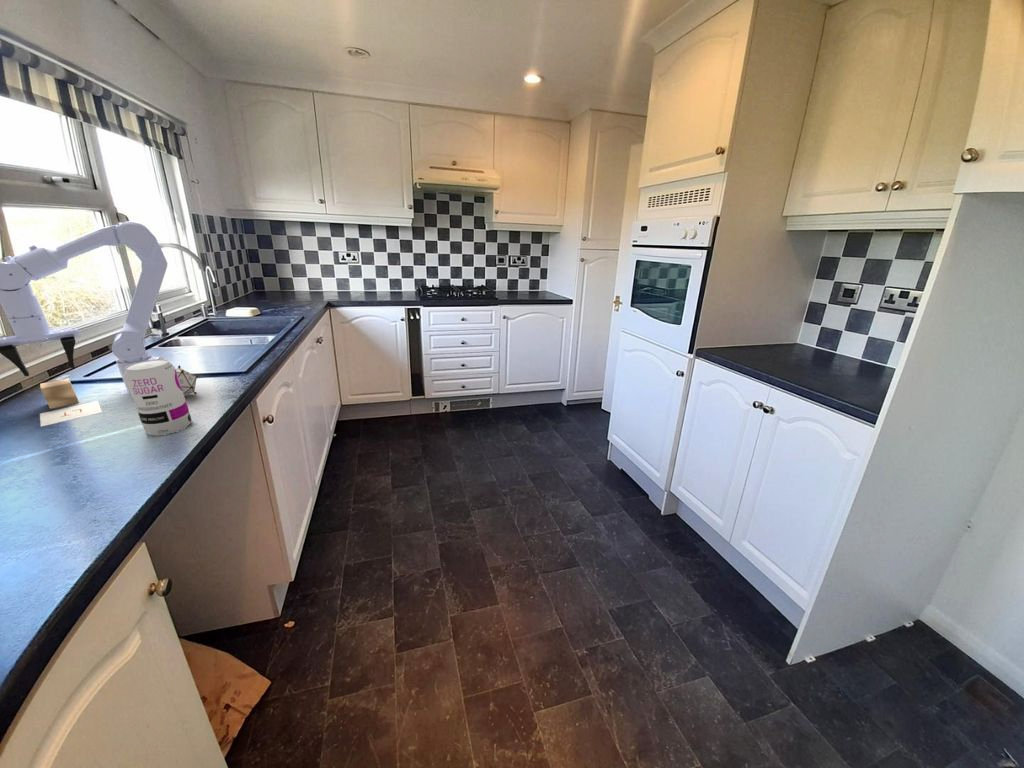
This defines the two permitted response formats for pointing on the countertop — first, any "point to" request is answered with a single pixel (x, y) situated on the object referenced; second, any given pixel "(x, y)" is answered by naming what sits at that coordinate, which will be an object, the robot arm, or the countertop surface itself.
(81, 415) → the tile
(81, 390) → the countertop surface
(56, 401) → the oak cube
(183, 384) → the game die
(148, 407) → the supplement can
